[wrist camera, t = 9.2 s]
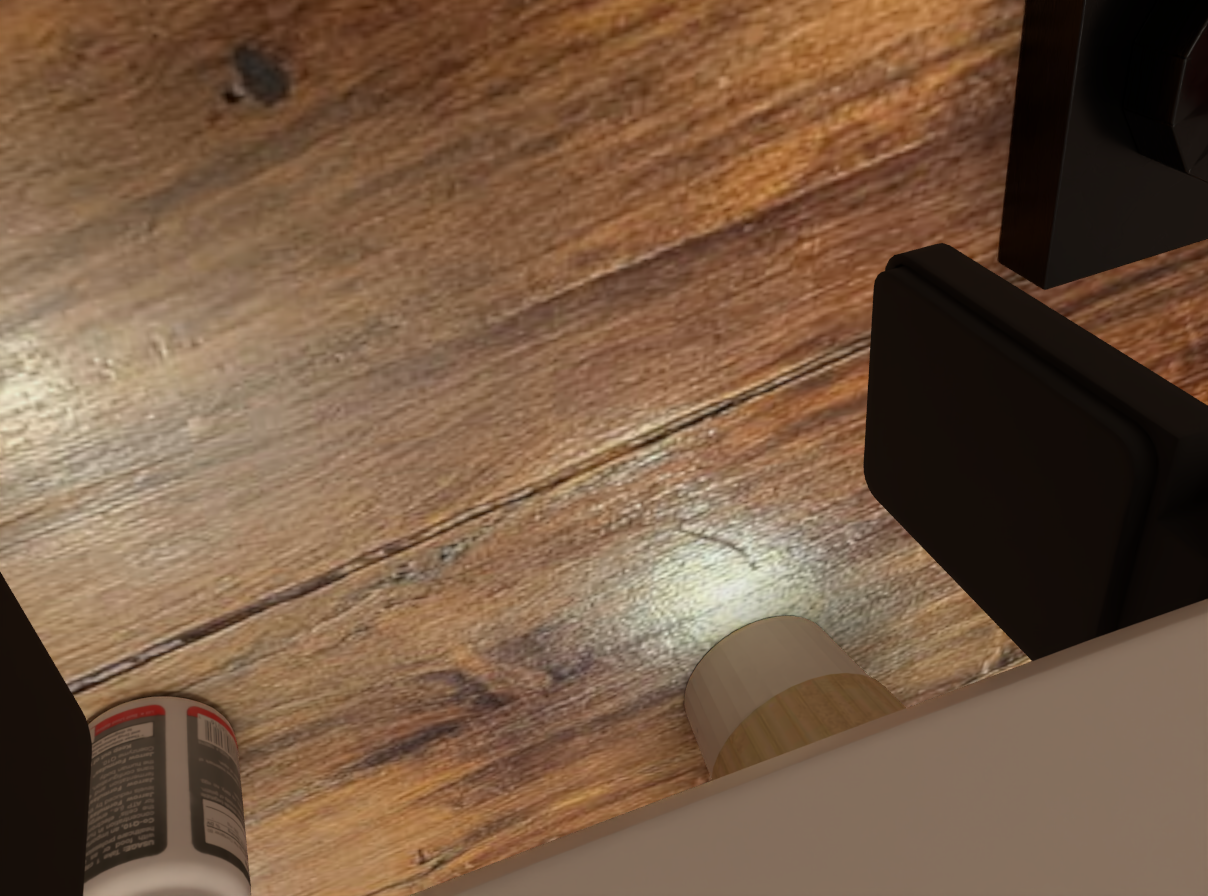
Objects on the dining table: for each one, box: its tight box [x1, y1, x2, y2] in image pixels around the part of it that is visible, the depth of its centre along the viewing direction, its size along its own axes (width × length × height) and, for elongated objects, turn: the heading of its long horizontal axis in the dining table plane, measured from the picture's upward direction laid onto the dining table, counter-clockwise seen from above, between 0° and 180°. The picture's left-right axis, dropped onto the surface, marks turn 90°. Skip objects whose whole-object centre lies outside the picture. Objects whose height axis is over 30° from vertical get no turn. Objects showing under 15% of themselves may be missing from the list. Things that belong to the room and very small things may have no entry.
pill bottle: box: [83, 696, 251, 896], centre depth 28 cm, size 5×5×8 cm
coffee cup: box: [684, 616, 906, 781], centre depth 34 cm, size 10×10×15 cm
